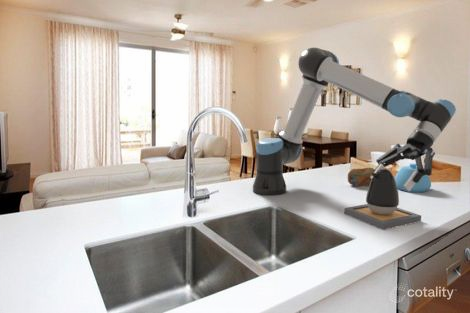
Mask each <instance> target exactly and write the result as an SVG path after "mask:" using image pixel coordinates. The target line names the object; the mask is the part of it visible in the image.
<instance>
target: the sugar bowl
mask: <svg viewBox="0 0 470 313" xmlns="http://www.w3.org/2000/svg"><path fill="white" fill-rule="evenodd" d="M414 171H417V172H418V170H417V165H416V163H409V165H407V166H402V167H401V168H400V169H399V170H398V172H397V173H396V175H395V176H394V179H395V181H396V185H397V189H398V191H399V190H400V191H404V192H408V193H426V192H428V191H429V190H430V189H431V188H432V181H431V178H430V176H428V175H424V176H422V178H421V179H420V180H419V182H418V183H415V185H414V186H413V187H412V189H411V190H410V191H407V190H406V189H405V187H404V185H405V183H406V182H407V180H408V179H409V178H410V176H411V175H412V173H413V172H414Z"/></svg>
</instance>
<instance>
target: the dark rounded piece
mask: <svg viewBox="0 0 470 313" xmlns="http://www.w3.org/2000/svg"><path fill="white" fill-rule="evenodd" d="M372 176H373V178H372V180H371V182H370V185H368V188H367V192H366V198H365V202H366V204H367V205H368V207H369V209H370V210H371V211H372V212H374V213H376V214H379V215H389V214H392V213H393V212H394V211H395V210H396V209H397V208H398V206H399V205H400V197H399V189H397V185H396V181H395V179H394V178H395V176H394V174H393V173H392V172H391V170H388V169H380V170H378V171H377V172H376V173H372Z"/></svg>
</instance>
